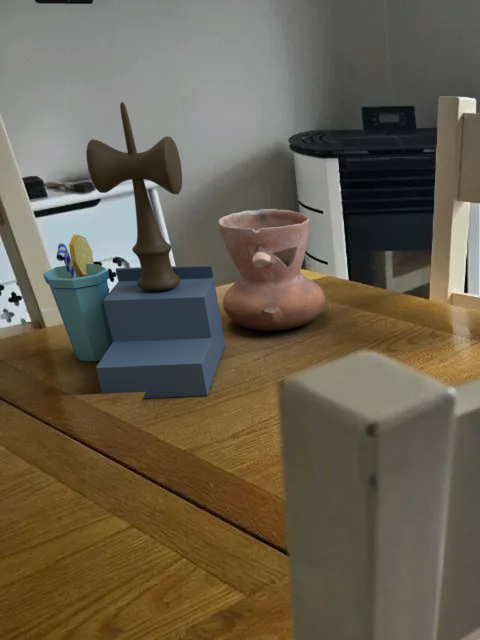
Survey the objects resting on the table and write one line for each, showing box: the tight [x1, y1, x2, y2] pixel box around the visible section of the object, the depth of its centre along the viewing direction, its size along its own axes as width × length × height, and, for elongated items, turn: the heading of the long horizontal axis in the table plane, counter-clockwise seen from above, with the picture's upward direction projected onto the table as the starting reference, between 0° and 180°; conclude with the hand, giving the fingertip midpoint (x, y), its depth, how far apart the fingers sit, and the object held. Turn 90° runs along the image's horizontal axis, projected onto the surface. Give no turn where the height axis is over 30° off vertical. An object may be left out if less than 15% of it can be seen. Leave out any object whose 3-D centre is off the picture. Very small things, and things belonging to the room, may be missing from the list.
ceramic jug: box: [217, 208, 326, 332], centre depth 117 cm, size 18×14×14 cm
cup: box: [42, 234, 113, 362], centre depth 105 cm, size 14×8×15 cm, turn 14°
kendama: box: [85, 101, 183, 291], centre depth 97 cm, size 6×10×20 cm, turn 92°
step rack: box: [95, 264, 226, 400], centre depth 102 cm, size 12×18×10 cm, turn 6°
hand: (66, 3), depth 83 cm, fingers open, 9 cm apart
